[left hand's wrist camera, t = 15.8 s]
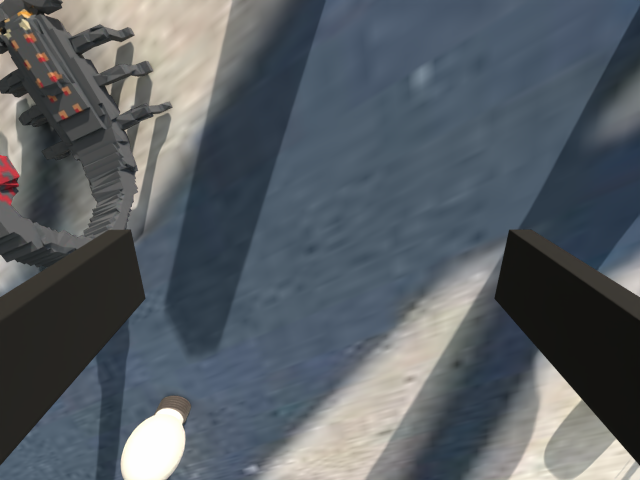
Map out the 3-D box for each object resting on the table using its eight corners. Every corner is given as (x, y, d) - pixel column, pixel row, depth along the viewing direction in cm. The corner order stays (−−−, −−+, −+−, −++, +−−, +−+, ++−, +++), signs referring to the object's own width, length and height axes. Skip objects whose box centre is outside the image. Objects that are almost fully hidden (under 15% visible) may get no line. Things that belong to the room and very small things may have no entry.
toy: (110, 234, 40) (-46, 337, 23) (-69, -34, 30) (-563, -201, 13) (216, 190, 38) (131, 266, 21) (58, -109, 29) (-327, -415, 12)
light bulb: (199, 389, 48) (167, 467, 38) (199, 425, 51) (169, 507, 40) (149, 384, 48) (103, 462, 38) (152, 420, 50) (109, 502, 40)
